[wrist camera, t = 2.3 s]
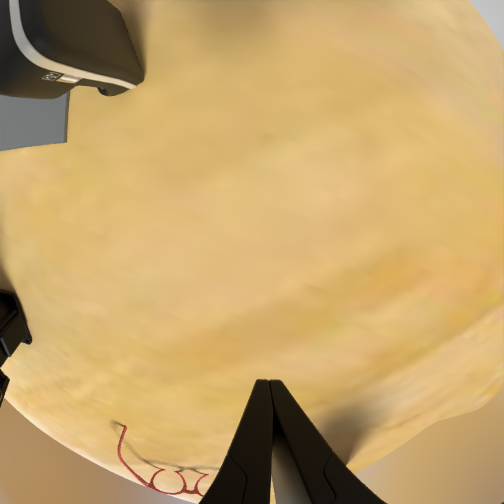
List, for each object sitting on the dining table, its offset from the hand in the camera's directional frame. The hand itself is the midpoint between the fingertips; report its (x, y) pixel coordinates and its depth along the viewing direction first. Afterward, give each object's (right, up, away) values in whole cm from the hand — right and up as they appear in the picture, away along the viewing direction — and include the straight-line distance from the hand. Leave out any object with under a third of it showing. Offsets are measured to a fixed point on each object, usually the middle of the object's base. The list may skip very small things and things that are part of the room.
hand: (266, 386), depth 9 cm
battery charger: (-10, +18, +5) cm, 21 cm away
